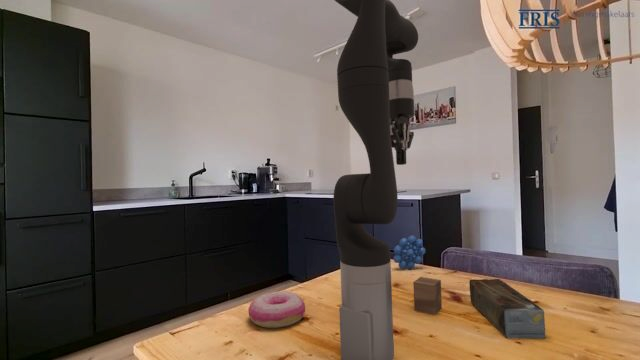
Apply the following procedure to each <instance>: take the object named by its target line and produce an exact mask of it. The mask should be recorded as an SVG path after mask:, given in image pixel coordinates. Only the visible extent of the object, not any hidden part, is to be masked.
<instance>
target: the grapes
mask: <svg viewBox="0 0 640 360" xmlns="http://www.w3.org/2000/svg"><path fill="white" fill-rule="evenodd" d="M416 237H417V236H415V235H410V236H408V238H405V237H403V238H401V239H400V240H399V245H396V246H395V247H394V248H393V252H394V254H395V255H394V256H393V262H394V263H395V264H396V263H398V267H399V269H401V270H402V269H403V270H405V268H407V269H408V270H412V269H414V268H415V266H416V265H419V264H421V263H422V262H423V257H422V256H423V255H425V253H426V248H425V247H424V246H423V244H424V242H423V239H421V238H416Z"/></svg>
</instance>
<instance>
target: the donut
mask: <svg viewBox="0 0 640 360" xmlns="http://www.w3.org/2000/svg"><path fill="white" fill-rule="evenodd" d="M247 312H248V316H249V318H250V320H251V322H252V323H254V324H255V325H257V326H259V327H263V328H268V329H279V328H284V327H288V326H291V325H294V324H296V323H298V322H299V321H301V319H302V318H303V317H304V314H305V312H306V305H305V302H304V299H303V298H302V297H301V296H299V295H298V294H296V293H294V292H290V291H271V292H267V293H263V294H261V295H259V296H257V297H255V298H254V299H253V300H252V301H251V302H250V304H249V307H248V311H247Z"/></svg>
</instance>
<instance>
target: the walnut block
mask: <svg viewBox="0 0 640 360" xmlns="http://www.w3.org/2000/svg"><path fill="white" fill-rule="evenodd" d="M412 283H413V303H414V304H413V308H414V310H413V311H414V312H415V311H416V312H418V313H423V314H427V315H432V316H436V315H437V314H438V313H439V312H440V311H441V310H442V308H443V306H442V305H443V302H442V280H441V279H437V278H432V277H431V278H430V277H427V276H426V277H424V276H420V277H419V278H417V279H415V280H414V281H413V282H412Z"/></svg>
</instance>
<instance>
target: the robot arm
mask: <svg viewBox="0 0 640 360" xmlns="http://www.w3.org/2000/svg"><path fill="white" fill-rule="evenodd" d="M334 2H336V3H337V4H339V5H340V6H342V7H343V8H345V9H346V10H347V11H348V12H350V13H351V14H353V15H354V16H356V17H357V19H356V22H355V24H354V26H353V29H352V30H351V32H350V34H349V37H348V39H347V41H346V43H345V45H344V47H343V50H342V52H341V54H340V56H339V59H338V62H337V69H336V76H337V78H336V79H337V94H338V95H337V97H338V103H339V107H340V108H341V111H342V113H343V114H344V116H345V118H346V119H347V121H348V122H349V123H350V124H351V126H352V128H353V129H354V130H355V131H356V133H357V134H358V136H359V138H360V140H361V141H362V143H363V145H364V147H365V150H366V155H367V157H368V162H369V164H368V165H369V170H370V171H369V173H351V174H345V175H342V176H339V178H338V180H337V181H336V183H335V185H334V189H333V213H334V215H333V216H334V223H335V225H334V226H335V237H336V239H335V240H336V245H337V248H338V252H339V263H340V264H339V265H340V267H339V268H340V294H341V296H340V297H341V305H340V306H339V311H338V312H339V313H338V314H339V338H340V359H341V360H394V358H395V348H394V347H395V346H394V344H395V343H394V340H395V339H394V317H393V295H392V294H393V293H392V292H393V291H392V289H393V288H392V263H391V249H390V246H389V245H388V244H387V243H386V242H385V241H382V240H380V239H378V238H377V237H375V236H373V235H371V234H370V233H369V232H368V231H367V230H366V228H365V226H364V225H389V224H391V223H393V221H394V220H395V219H396V215H397V211H398V197H399V196H398V186H397V178H396V169H395V162H396V165H397V166H399V165H400V166H402V165H407V151H408V149H411V145H412V141H413V139H414V135H415V134H414V131H411V126H410V121H409V120H410V119H412V118H414V117H415V95H414V86H413V67H412V63H411V61H410V60H408V59H405V58H394V57H393V56H394V55H398V54H402V53H406V52H407V53H408V52H410V51H412V50H414V49H415V48H416V47H417V44H418V41H419V32H418V29H417V27H416V26H415V24H414V23H413V22H412V21H411V20H409V19H408V18H406V17H404V16H403V15H400V12H399V9H398V8H397V7H396V5H395V4H394V3H393V2H392V1H391V0H334ZM393 149H394V151H395V159H396V161H394V155H393Z"/></svg>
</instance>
